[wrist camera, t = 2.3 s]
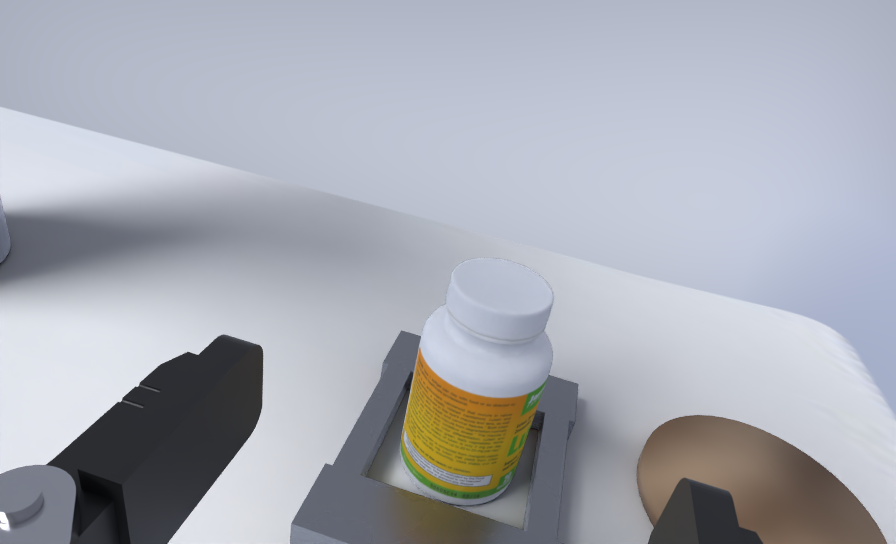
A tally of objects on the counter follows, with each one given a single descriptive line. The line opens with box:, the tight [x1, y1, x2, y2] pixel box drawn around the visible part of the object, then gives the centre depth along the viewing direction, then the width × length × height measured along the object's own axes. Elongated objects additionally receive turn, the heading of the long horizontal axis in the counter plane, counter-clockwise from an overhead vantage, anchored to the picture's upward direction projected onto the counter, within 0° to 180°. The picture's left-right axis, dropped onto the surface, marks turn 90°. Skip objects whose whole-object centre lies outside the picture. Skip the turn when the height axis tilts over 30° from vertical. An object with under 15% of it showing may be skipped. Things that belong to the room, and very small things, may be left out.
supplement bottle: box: [400, 258, 554, 505], centre depth 25 cm, size 5×5×10 cm
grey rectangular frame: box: [290, 331, 578, 544], centre depth 27 cm, size 10×13×1 cm
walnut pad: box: [637, 415, 887, 544], centre depth 27 cm, size 11×11×1 cm
